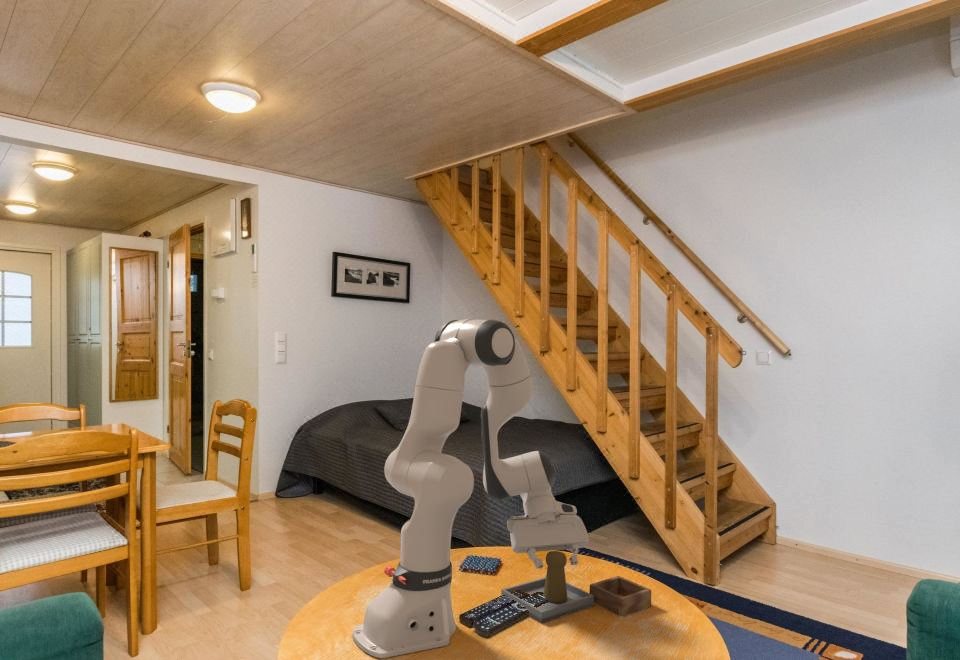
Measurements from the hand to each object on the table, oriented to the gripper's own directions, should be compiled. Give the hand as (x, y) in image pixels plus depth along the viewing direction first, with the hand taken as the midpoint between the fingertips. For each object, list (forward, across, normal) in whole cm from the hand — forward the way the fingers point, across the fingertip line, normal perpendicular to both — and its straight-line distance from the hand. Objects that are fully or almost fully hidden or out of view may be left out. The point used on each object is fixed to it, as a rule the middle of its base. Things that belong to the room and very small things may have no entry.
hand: (557, 565), depth 144 cm
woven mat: (-12, -11, +26) cm, 31 cm away
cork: (+5, 0, +6) cm, 8 cm away
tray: (+6, -2, +7) cm, 9 cm away
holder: (+9, +15, +4) cm, 18 cm away
